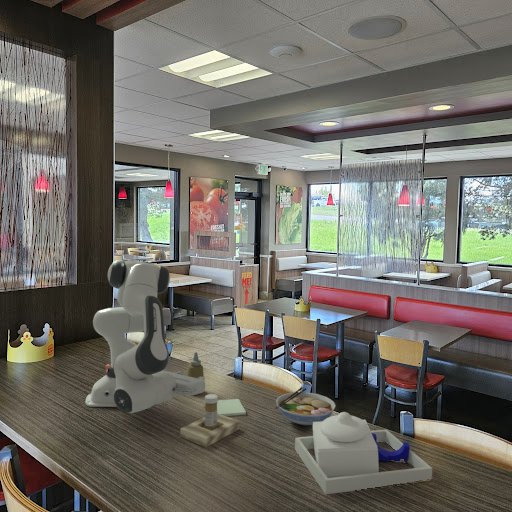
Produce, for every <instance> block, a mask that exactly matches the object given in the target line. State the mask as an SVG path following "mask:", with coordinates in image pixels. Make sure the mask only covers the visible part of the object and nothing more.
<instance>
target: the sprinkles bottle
mask: <svg viewBox="0 0 512 512" xmlns="http://www.w3.org/2000/svg"><path fill="white" fill-rule="evenodd" d="M218 400H219V397H218V395H217V394H213V393H212V394H205V396H204V404H205V405H204V417H205V429H208V430H210V431H212V430H214V429H216V428H217V402H218Z"/></svg>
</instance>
